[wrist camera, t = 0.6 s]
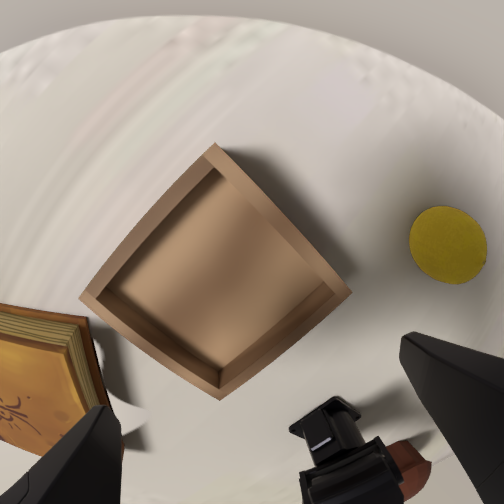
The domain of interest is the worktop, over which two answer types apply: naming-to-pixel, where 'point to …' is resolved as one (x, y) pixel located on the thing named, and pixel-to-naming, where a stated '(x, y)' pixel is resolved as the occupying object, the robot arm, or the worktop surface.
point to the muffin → (410, 467)
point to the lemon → (448, 244)
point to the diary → (45, 376)
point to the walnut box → (214, 279)
